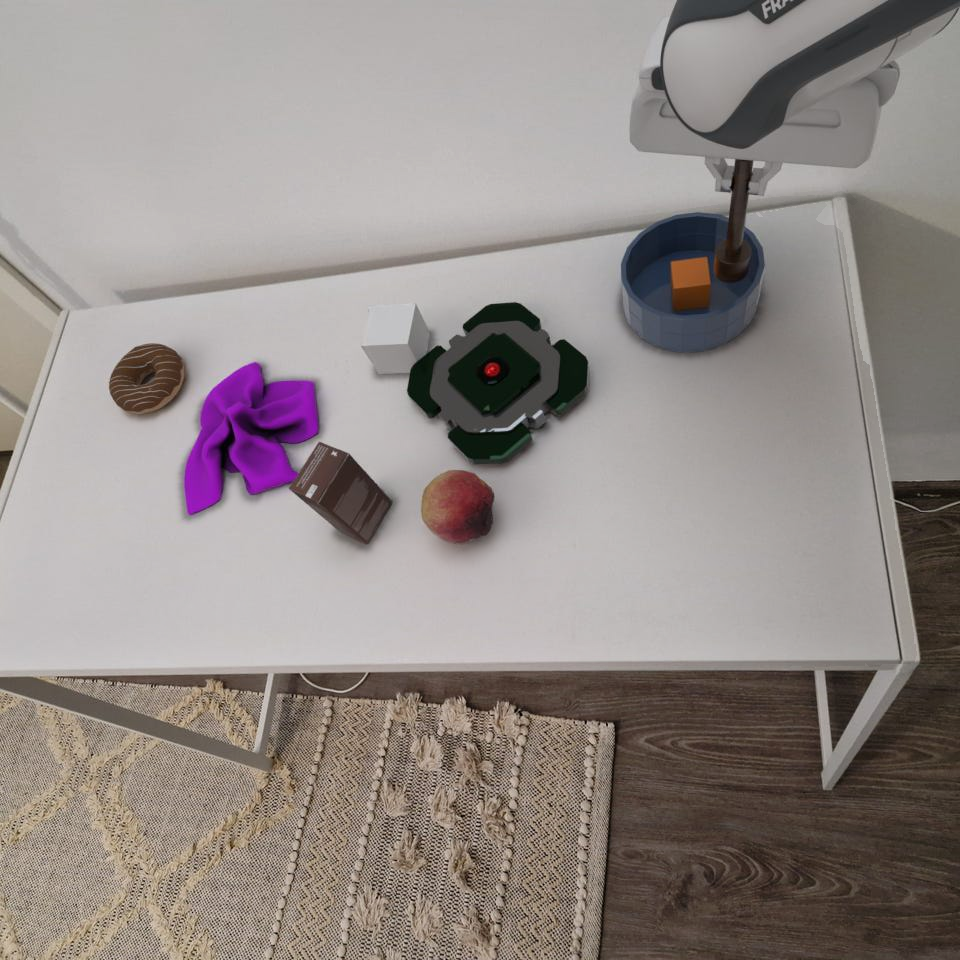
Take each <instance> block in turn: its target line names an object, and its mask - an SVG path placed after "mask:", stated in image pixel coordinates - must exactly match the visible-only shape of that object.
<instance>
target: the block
mask: <svg viewBox="0 0 960 960" xmlns="http://www.w3.org/2000/svg"><path fill="white" fill-rule="evenodd" d="M710 288H711V281H710V274H709V267H708V259H707V257H702V258H695V259H687V260H680V261H672V262H671V294H672V303H673V311H681V310H689V309H698V308H706V307H709V301H710Z"/></svg>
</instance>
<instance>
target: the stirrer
mask: <svg viewBox="0 0 960 960" xmlns="http://www.w3.org/2000/svg"><path fill="white" fill-rule="evenodd" d="M733 166H734V174H733V183H732V191H731V193H730V201H729V203H730V205H729V212H728V218H729V221H728V230H727V239H726V240H724V241H722V242H721V243H719V244H718V246H717V247H716V250H715V260H714V275H715V277H716V278H717V279H718V280H720V281H722V282H725V283H735V282H739V281H741V280H742V279H744V278H745V277H746V276H747V274H748V271H749V264H750V258H751V251H752V250H751V246H750V244H749V243H748V242H747V241H745V240H743V235H744V228H745V227H746V220H747V213H748V204H749V197H750V194H748V189H749V187H748V186H749V181H750V177H751V176H752V171H753V168H754V161H752V160H739V159H734V165H733Z"/></svg>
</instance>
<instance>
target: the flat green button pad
mask: <svg viewBox="0 0 960 960" xmlns="http://www.w3.org/2000/svg"><path fill="white" fill-rule="evenodd" d="M462 330H463V333H464V335H460V334H457V333H456V334H455V335H454V336H452V337H451V338H450V339H449V340H448V345H449V346H450V347H449V348H448V349H445V348H444V347H443V345H436V346H435V347H433V348H432V349H430V351H427V354H426V355H425V356H423V357H422V358H421V359H420V360H418V361H417V362H416V363H415V364H414V365H413V366H412V368H411V370H410V373H409V376H408V382H407V388H406V394H407V396H408V397H409V399H410V401H411V402H412V403H413V404H414V405H415V406H416V407H417V408H418V409H419V410H420V411H421V412H422V413H423V414H424V416H426V417H427V418H428V419H429V420H430V419H431V420H432V419H435V418H436V417H437V416H439V418H440V420H441V422H442V424H443V425H444V427H445V428H446V429H447V430H448V431H449V432H448V433H447V439H448V441H449V443H450V444H451V445H452V446H453V448H455V449H456V450H457V451H458V452H459V453H460V454H461V455H462V456H463V457H464V458H465V459H466V460H467V462H469V463H470V464H473V465H504V464H507V463H509V462H510V461H511V460H512V459H514V457H516V456H517V455H518V454H519V453H520V452H521V451H523V450H524V449H525V448H526V447H528V445H530V444H531V443H532V442H533V441H534V437H533V433H532V430H531V429H530V428H529V427H531V428H535V429H539V428H540V427H541V426H543V425H544V424H545V423H546V422H547V420H546V415H545V414H546V413H547V412H549V411H551V412H552V413H553V414H554V415H555V416H556V417H561V416H563V415H564V414H565V413H567V411H569V410H570V409H571V408H572V407H574V406H575V405H576V404H577V403H579V401H581V400H582V399H583V398H584V397H585V396H586V395H587V393H588V392H589V381H590V364H589V360H588V358H587V356H586V355H585V354H583V353H582V352H581V351H580V350H579V349H577V348H576V347H575V346H574V345H572V344H571V342H568V341H567V340H566V339H564V338H562V339H558V340H557V341H556V342H555V343H554V344H552V342H551V338H550V334H549V333H548V332H547V331H546V330H545V329H542V322H541V319H540V317H538V316H537V315H536V314H535V313H533V311H531V310H530V309H528V308H527V307H526V306H524V305H523V304H522V303H520V302H517V301H513V302H497V303H490V304H487V305H485V306H483V307H482V308H481V309H480V310H479V311H478V312H476V313H475V314H474V315H473V316H471V317H470V318H468V320H466V321H465V322H464V323H463V324H462Z"/></svg>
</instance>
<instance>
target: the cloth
mask: <svg viewBox="0 0 960 960" xmlns="http://www.w3.org/2000/svg"><path fill="white" fill-rule="evenodd" d="M264 381H265V378H264V377H263V374H262V367H261V365H260V363H259V362H257V361H253V362H250V363H247V364H246V365H243V366H241V367H239V368H237V369H236V370H234V371H233V372H232V373H231V374H230V375H228V376H226V377H225V378H223V379H222V380H221V381H220V382H219V383H218V384H217V385H215V386H214V387H212V389H211V390H210V391H209V393H208V394H207V395H206V397H205V400H204V402H203V404H202V408H201V411H200V419H199V423H200V424H199V425H200V427H201V429H200V431H199V433H198V436H197V438H196V440H195V443H194V444H193V447H192V449H191V450H190V453H189V455H188V457H187V460H186V463H185V467H184V468H185V469H184V476H183V487H184V496H185V504H186V513H187V514H188V515H189V516H191V515H194V514H196V513H199V512H202V511H204V510H205V509H208V508H209V507H211V506H213V505H215V504H216V503H217V502H218V501H220V500H221V497H222V489H223V485H224V475H223V470H225V471H227V472H228V473H231V474H232V473H233V474H234V473H235V474H236V473H241V474H242V477H243V478H242V479H243V481H244V485H245V489H246V493H248V494H249V495H250V496H252V495H257V494H259V493H262V492H264V491H267V490H269V489H270V490H271V489H273V488H275V487H278V486H282V485H285V484H287V483H288V484H289V483H293V481H294V480H295V478H296V477H297V475H298V474H299V472H298V471H295V470H293V468H292V466H291V465H290V462H289V459H288V456H287V452H286V450H285V448H284V446H283V444H282V443H285V444H286V443H287V444H290V445H291V444H293V445H294V444H300V443H302V442H305V441H307V440H308V439H310V438H312V437H313V436H315V435H316V434H317V433H319V415H318V409H317V401H316V393H315V382H314V381H311V380H277V381H273V382H269V383H267V384H264Z"/></svg>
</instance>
